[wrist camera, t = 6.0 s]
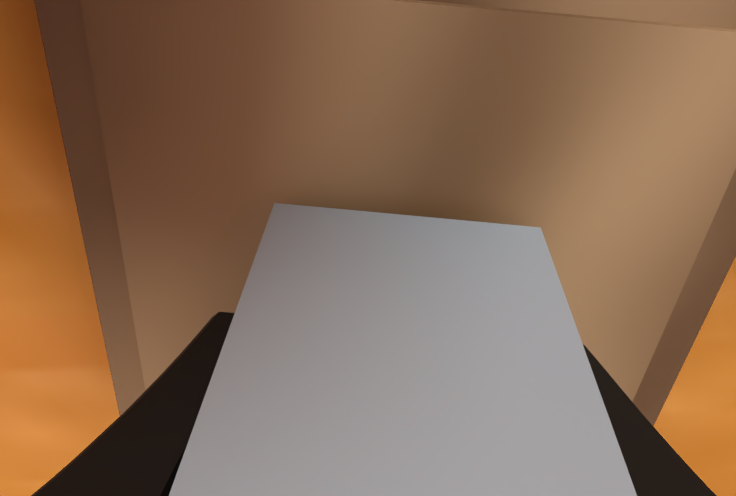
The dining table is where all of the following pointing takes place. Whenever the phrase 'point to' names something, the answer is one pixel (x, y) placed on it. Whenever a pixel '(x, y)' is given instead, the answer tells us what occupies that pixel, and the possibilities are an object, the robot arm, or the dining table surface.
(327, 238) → the block
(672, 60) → the plinth
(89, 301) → the dining table surface
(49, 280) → the dining table surface
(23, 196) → the dining table surface
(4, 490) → the dining table surface
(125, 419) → the robot arm
